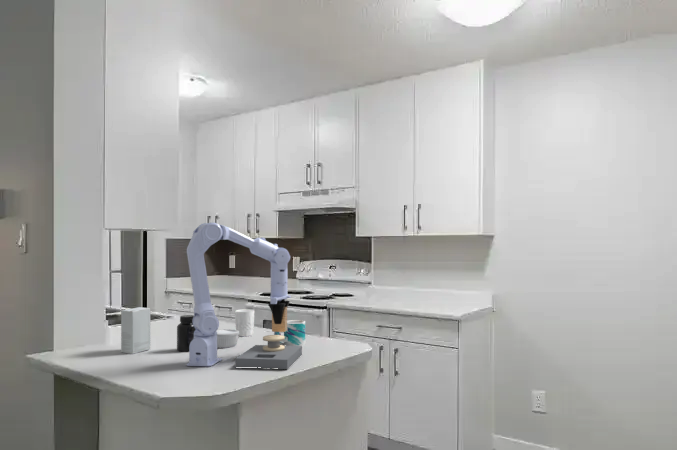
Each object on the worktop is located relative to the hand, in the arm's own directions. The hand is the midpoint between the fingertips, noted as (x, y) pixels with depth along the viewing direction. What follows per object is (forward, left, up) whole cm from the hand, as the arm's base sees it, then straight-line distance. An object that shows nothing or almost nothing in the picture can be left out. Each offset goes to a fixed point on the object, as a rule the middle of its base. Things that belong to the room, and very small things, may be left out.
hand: (279, 323), depth 175 cm
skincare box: (-2, +51, -11) cm, 52 cm away
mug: (+15, 0, -11) cm, 18 cm away
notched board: (-11, 0, -10) cm, 15 cm away
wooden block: (0, 0, -3) cm, 3 cm away
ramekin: (+11, +24, -11) cm, 29 cm away
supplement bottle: (+2, +34, -11) cm, 36 cm away
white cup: (+32, +23, -11) cm, 41 cm away
